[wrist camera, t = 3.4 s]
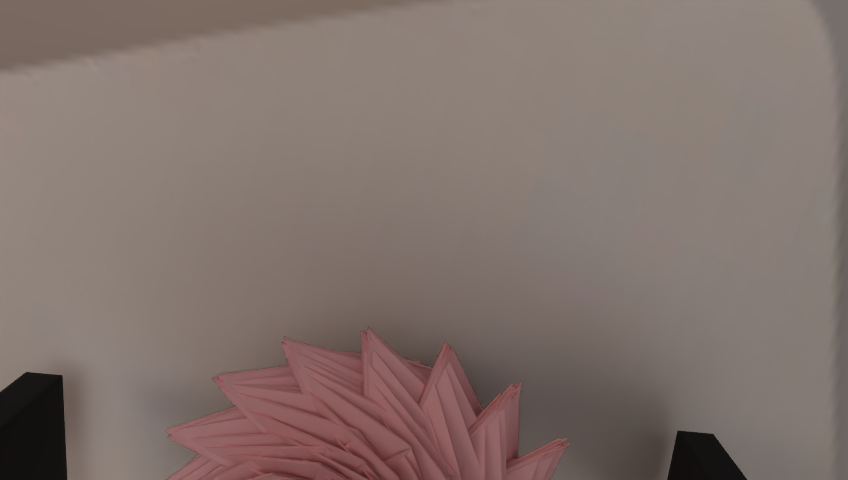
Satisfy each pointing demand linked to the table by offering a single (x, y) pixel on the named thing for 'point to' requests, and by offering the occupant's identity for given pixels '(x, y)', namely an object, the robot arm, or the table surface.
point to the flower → (360, 422)
